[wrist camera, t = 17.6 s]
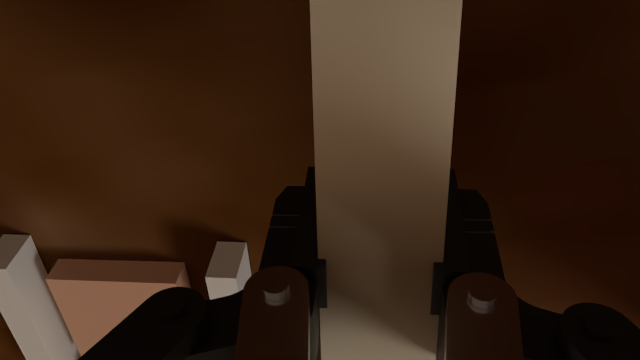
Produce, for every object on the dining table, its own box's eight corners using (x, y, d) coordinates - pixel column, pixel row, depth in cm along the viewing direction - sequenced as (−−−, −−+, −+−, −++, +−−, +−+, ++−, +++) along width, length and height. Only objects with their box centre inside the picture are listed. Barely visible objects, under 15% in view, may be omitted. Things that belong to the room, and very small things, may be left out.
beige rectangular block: (256, -50, 14) (197, -27, 9) (517, -55, 13) (586, -34, 9) (281, 324, 19) (249, 459, 14) (475, 332, 18) (507, 475, 13)
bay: (3, 234, 31) (-24, 268, 29) (246, 242, 30) (236, 278, 28) (67, 368, 38) (49, 403, 36) (267, 379, 36) (260, 416, 34)
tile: (62, 252, 32) (45, 279, 31) (186, 256, 31) (175, 283, 30) (97, 335, 36) (84, 363, 35) (208, 340, 36) (199, 369, 34)
